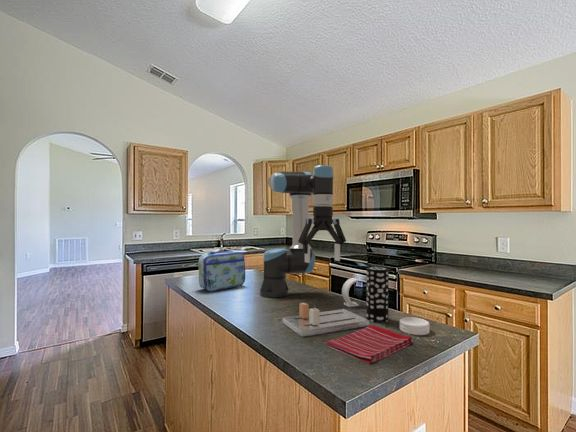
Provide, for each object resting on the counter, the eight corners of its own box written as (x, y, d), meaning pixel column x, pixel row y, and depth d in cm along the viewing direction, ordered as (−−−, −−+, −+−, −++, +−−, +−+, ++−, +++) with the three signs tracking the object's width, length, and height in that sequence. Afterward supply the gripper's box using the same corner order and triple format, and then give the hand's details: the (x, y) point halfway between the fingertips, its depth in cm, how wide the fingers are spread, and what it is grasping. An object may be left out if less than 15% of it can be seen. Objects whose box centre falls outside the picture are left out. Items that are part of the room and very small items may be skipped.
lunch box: (204, 293, 166) (204, 253, 166) (196, 289, 174) (196, 251, 174) (247, 287, 182) (247, 250, 182) (237, 283, 190) (237, 249, 191)
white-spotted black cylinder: (373, 314, 131) (373, 266, 131) (392, 319, 125) (392, 268, 125) (362, 319, 125) (362, 268, 125) (381, 324, 119) (381, 271, 119)
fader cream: (309, 322, 113) (309, 308, 113) (315, 321, 114) (315, 307, 114) (313, 325, 110) (313, 310, 110) (319, 324, 111) (319, 309, 111)
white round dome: (393, 329, 114) (393, 319, 114) (409, 324, 120) (409, 315, 120) (419, 338, 106) (419, 327, 106) (435, 332, 112) (435, 322, 112)
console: (282, 322, 120) (282, 316, 120) (344, 313, 132) (344, 308, 132) (301, 336, 106) (301, 330, 106) (369, 325, 117) (369, 320, 117)
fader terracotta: (299, 316, 120) (299, 302, 121) (304, 315, 121) (304, 302, 122) (302, 318, 118) (302, 304, 118) (308, 317, 119) (308, 304, 119)
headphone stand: (358, 306, 144) (358, 279, 144) (346, 307, 142) (346, 280, 142) (353, 303, 148) (353, 277, 148) (341, 304, 146) (341, 278, 146)
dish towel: (414, 344, 101) (414, 336, 101) (370, 367, 86) (370, 357, 86) (369, 330, 114) (369, 323, 114) (324, 347, 99) (324, 338, 99)
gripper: (299, 204, 113) (298, 264, 113) (355, 206, 124) (354, 260, 124) (289, 205, 120) (289, 261, 119) (343, 207, 131) (343, 258, 131)
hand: (322, 261), depth 122 cm, fingers open, 13 cm apart
